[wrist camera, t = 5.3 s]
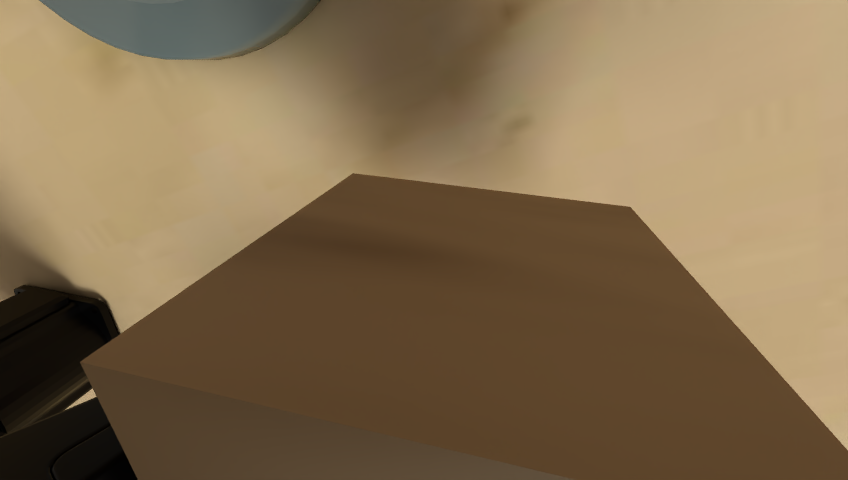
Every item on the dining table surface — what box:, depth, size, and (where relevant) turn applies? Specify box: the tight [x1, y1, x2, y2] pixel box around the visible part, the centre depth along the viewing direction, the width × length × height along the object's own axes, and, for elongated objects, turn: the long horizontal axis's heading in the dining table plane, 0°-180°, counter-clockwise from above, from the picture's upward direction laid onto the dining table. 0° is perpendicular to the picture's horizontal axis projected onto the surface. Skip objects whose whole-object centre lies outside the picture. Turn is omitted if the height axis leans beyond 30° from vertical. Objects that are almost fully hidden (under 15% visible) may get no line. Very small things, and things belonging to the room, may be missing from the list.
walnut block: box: [80, 173, 848, 480], centre depth 6 cm, size 6×6×6 cm
